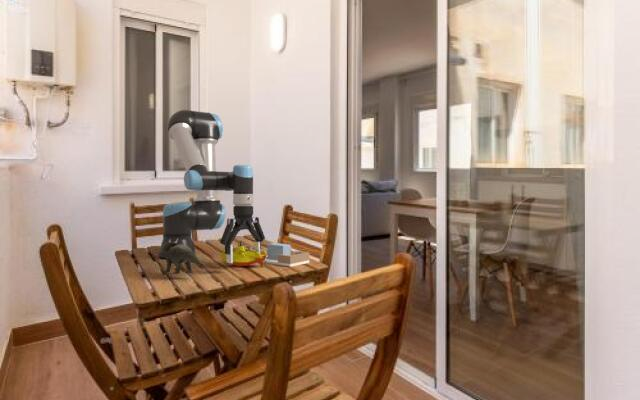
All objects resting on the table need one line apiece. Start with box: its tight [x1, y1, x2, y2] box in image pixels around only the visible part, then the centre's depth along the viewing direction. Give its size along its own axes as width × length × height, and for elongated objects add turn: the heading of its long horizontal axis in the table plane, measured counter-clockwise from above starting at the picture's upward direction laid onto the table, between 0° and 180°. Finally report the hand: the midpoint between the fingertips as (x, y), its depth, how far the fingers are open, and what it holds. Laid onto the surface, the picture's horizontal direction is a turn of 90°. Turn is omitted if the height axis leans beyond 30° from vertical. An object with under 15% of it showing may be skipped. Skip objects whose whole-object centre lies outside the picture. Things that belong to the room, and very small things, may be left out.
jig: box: [233, 244, 310, 268], centre depth 162 cm, size 37×11×4 cm, turn 52°
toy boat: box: [220, 240, 267, 268], centre depth 147 cm, size 6×18×10 cm, turn 78°
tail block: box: [266, 242, 292, 260], centre depth 158 cm, size 9×4×6 cm, turn 52°
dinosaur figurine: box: [162, 238, 205, 275], centre depth 136 cm, size 22×8×11 cm, turn 48°
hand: (243, 260), depth 147 cm, fingers open, 13 cm apart
